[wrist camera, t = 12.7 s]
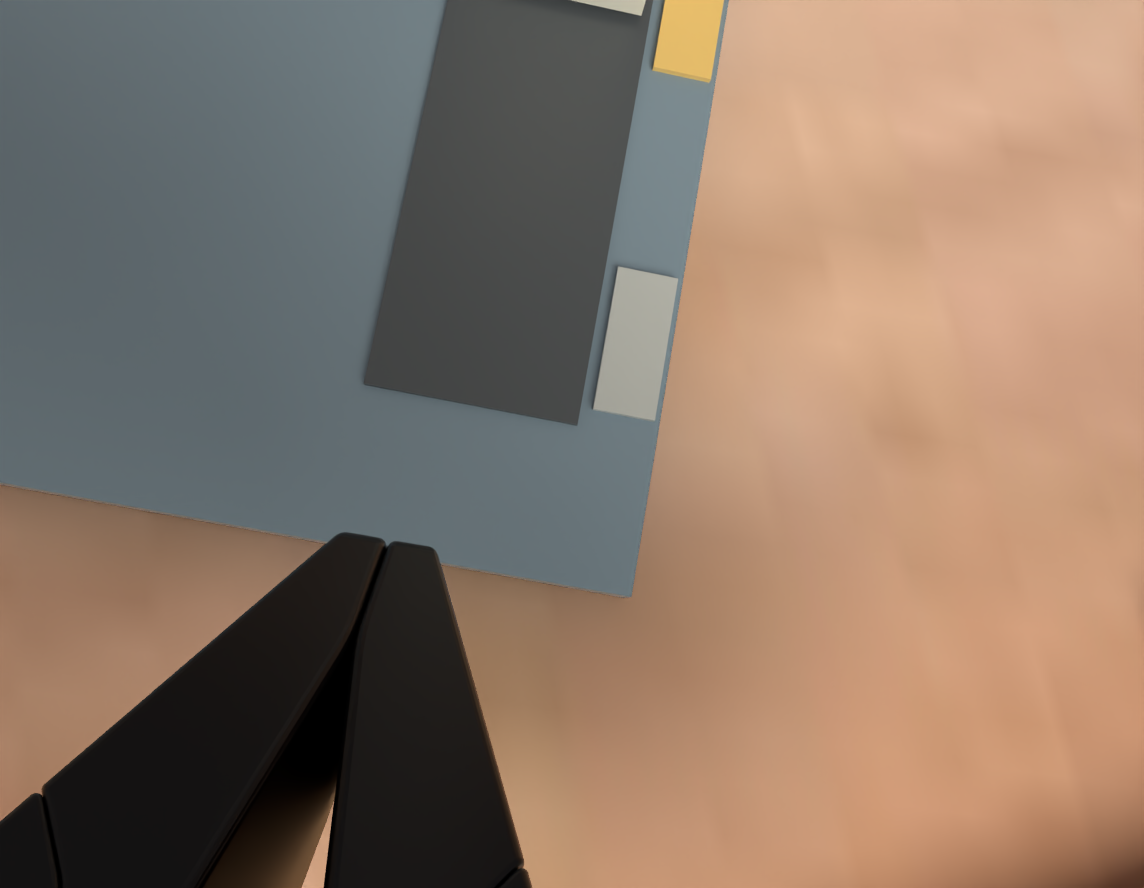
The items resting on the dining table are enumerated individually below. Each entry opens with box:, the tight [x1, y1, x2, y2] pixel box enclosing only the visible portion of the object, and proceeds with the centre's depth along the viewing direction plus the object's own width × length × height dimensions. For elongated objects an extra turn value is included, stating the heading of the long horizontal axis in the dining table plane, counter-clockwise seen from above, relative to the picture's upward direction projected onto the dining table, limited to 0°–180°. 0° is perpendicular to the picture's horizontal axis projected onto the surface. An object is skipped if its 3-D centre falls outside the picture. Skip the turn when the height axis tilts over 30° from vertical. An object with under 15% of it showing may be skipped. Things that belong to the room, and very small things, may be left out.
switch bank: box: [0, 0, 729, 598], centre depth 16 cm, size 12×18×2 cm, turn 80°
